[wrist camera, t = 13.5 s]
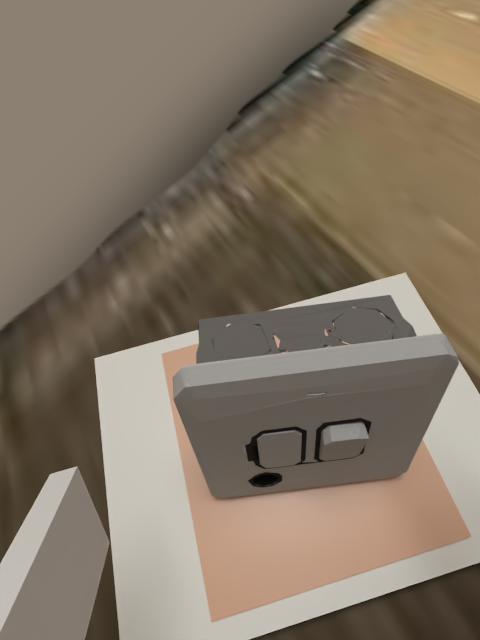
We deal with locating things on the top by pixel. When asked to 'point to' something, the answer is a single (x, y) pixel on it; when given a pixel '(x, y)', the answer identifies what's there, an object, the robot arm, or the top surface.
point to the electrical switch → (310, 396)
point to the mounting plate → (272, 508)
